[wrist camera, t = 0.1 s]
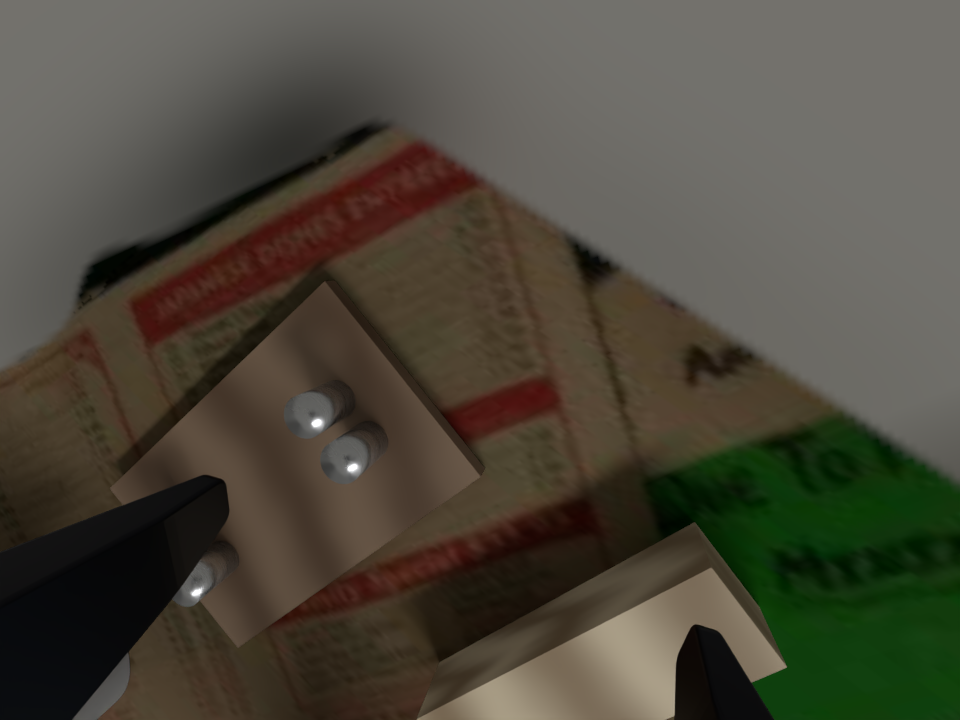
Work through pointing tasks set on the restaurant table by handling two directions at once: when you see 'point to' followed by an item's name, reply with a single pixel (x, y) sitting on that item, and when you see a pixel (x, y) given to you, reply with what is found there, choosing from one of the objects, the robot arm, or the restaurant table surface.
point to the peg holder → (305, 463)
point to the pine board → (607, 643)
